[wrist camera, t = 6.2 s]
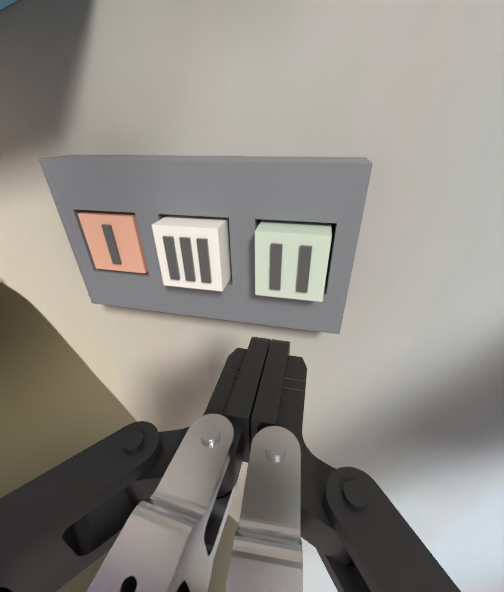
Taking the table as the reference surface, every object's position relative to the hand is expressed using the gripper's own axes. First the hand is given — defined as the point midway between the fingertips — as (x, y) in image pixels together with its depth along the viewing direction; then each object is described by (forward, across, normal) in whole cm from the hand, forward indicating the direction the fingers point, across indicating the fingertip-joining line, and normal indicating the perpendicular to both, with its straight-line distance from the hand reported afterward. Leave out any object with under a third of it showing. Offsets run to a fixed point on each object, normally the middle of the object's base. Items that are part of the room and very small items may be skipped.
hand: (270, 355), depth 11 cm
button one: (+13, +14, 0) cm, 19 cm away
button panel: (+13, +7, 0) cm, 15 cm away
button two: (+11, 0, 0) cm, 11 cm away
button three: (+11, +7, 0) cm, 13 cm away
